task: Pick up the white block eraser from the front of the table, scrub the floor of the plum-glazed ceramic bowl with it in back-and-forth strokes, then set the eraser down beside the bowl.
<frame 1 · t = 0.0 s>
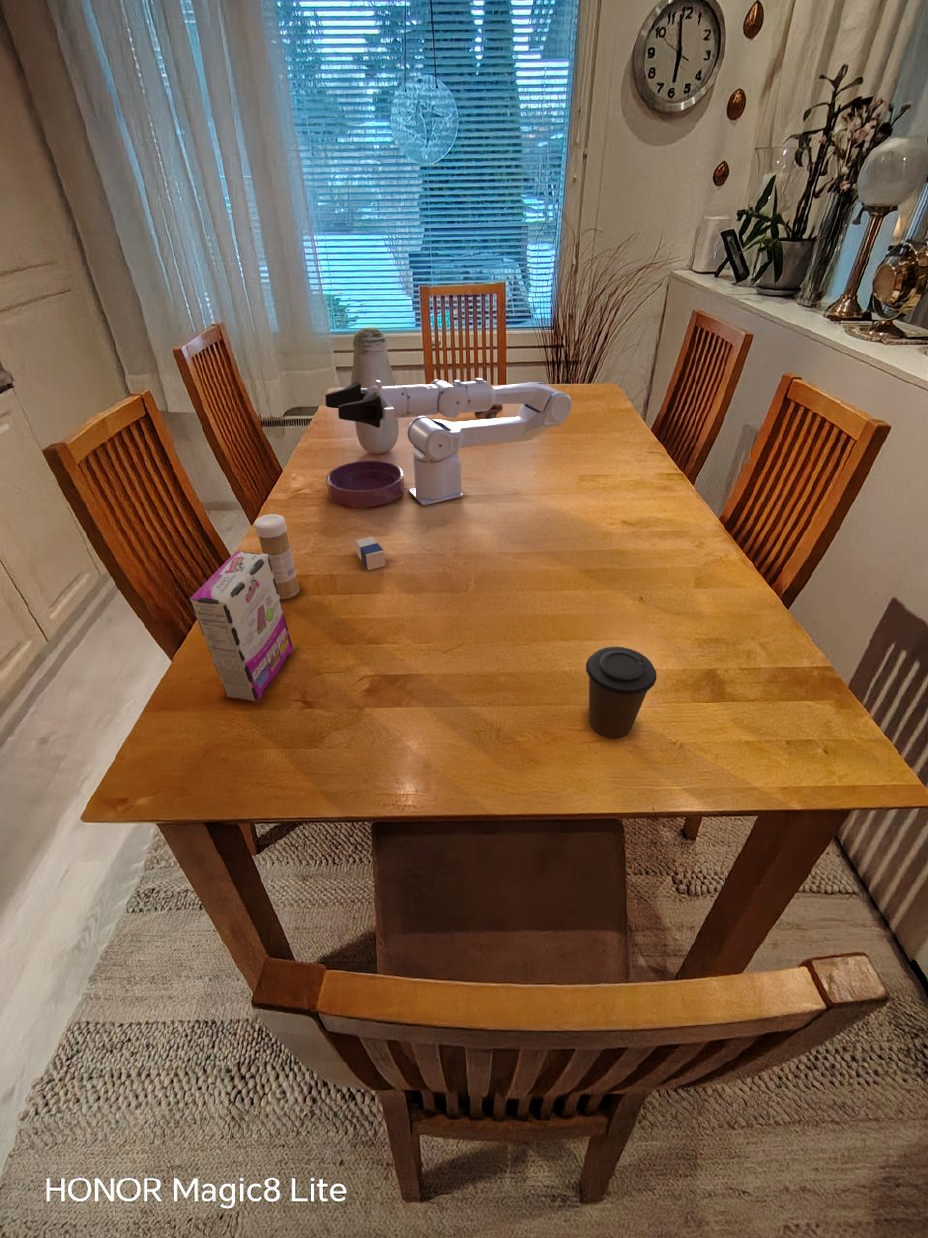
hand: (332, 406, 106), 22 cm above the table, tool horizontal, fingers open, 7 cm apart
mushroom: (488, 420, 164), on the table
coffee cup: (609, 723, 74), on the table
eraser: (371, 560, 105), on the table
bowl: (367, 492, 128), on the table
candy bar box: (261, 674, 82), on the table
sprinkles bottle: (286, 593, 98), on the table
white tall rounded piece: (379, 452, 147), on the table
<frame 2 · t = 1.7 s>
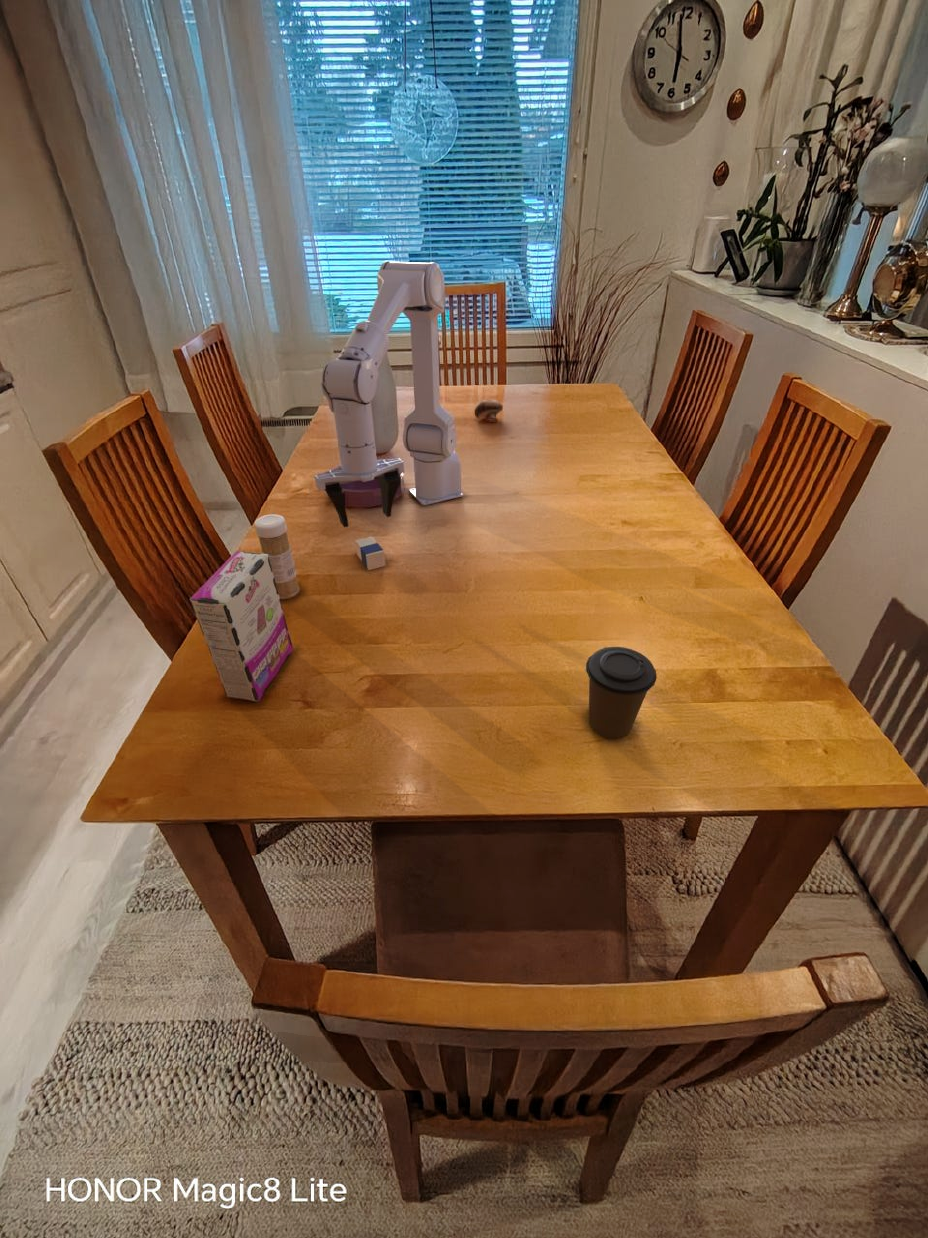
hand: (366, 519, 100), 8 cm above the table, tool pointing down, fingers open, 7 cm apart
nothing on the table moved.
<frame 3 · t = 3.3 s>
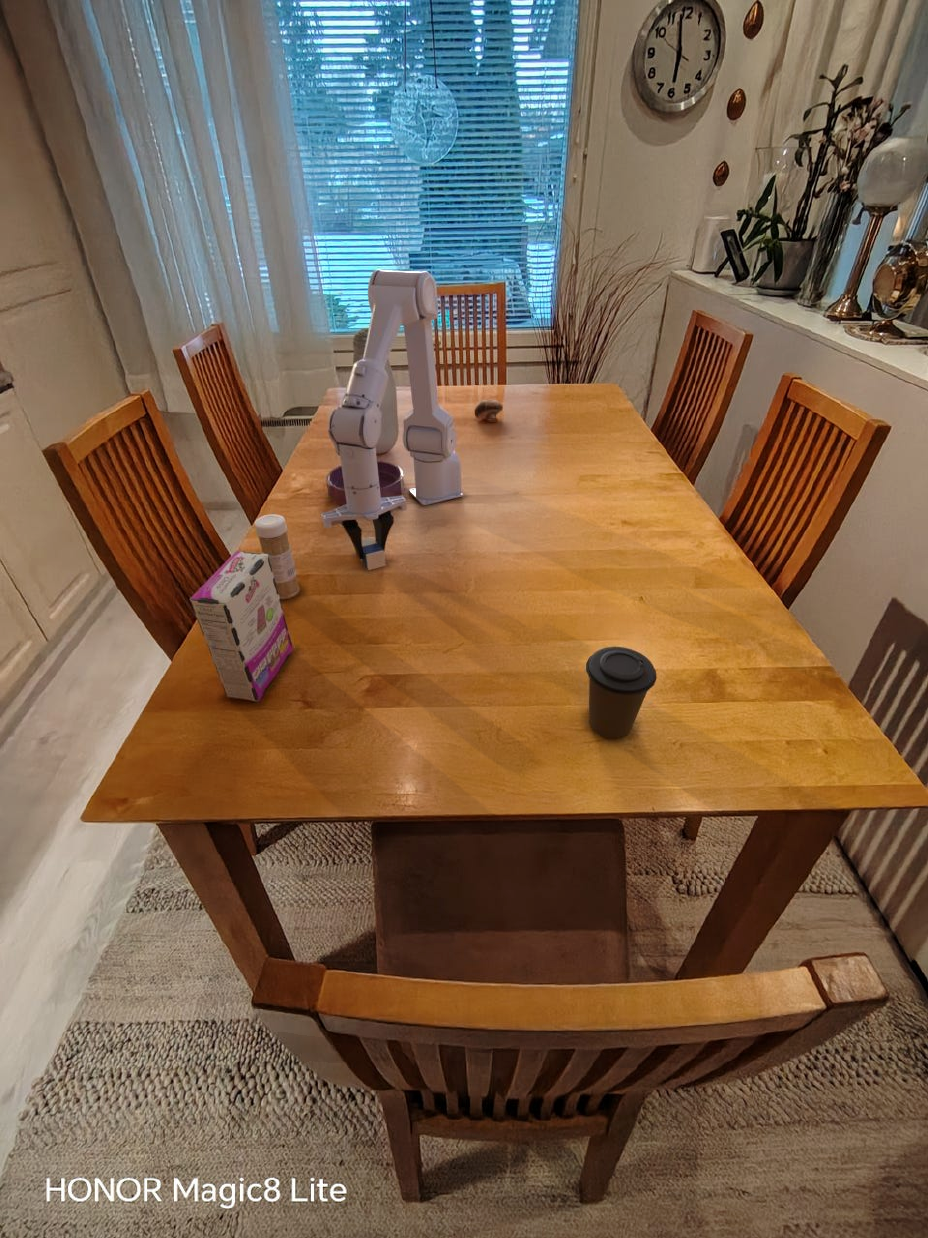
hand: (370, 553, 104), 1 cm above the table, tool pointing down, fingers closed on eraser, 3 cm apart
eraser: (371, 560, 105), on the table, touching gripper
everything else where it was.
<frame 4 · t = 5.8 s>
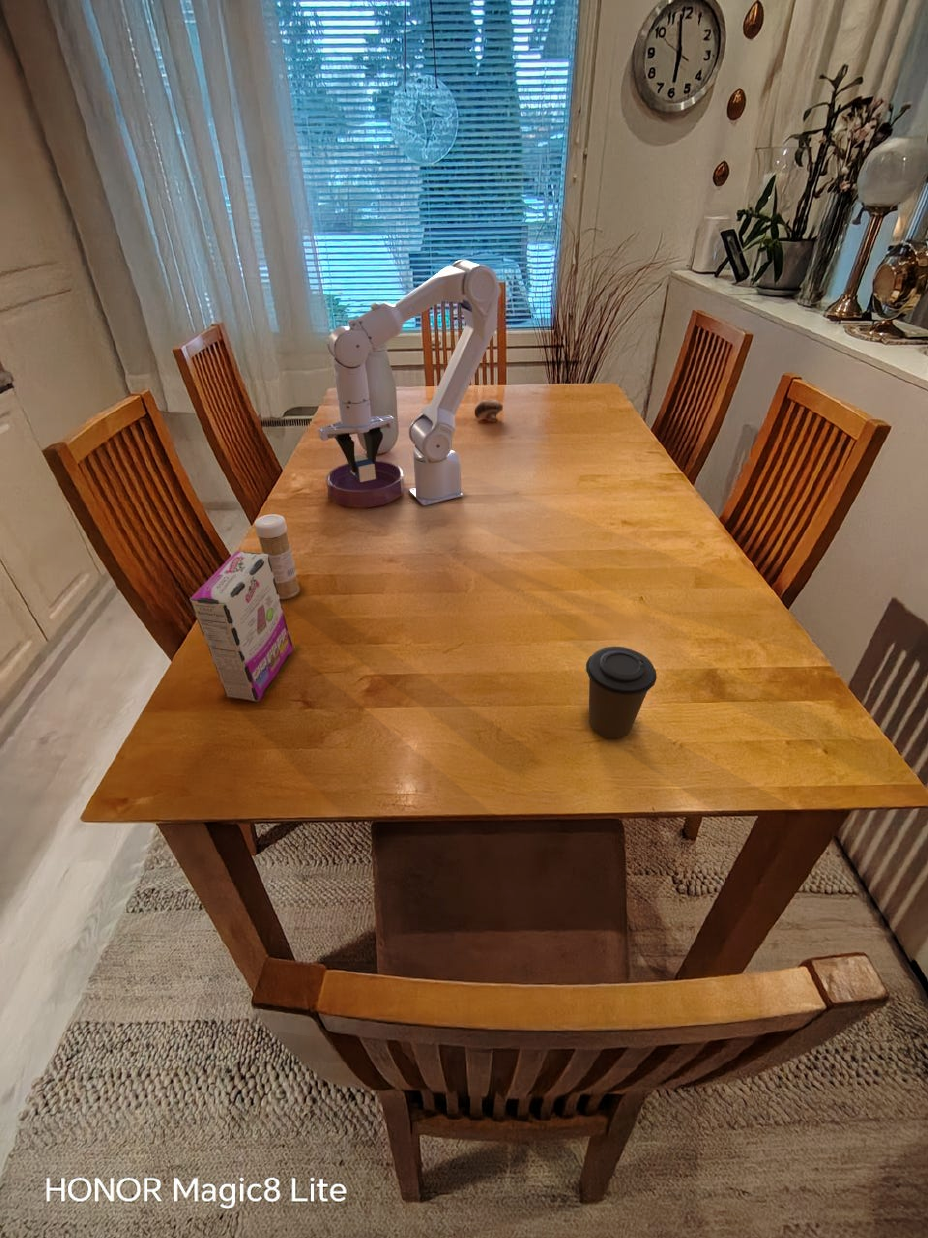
hand: (362, 468, 117), 8 cm above the table, tool pointing down, fingers closed on eraser, 3 cm apart
eraser: (363, 475, 118), point 7 cm above the table, touching gripper
everything else where it was.
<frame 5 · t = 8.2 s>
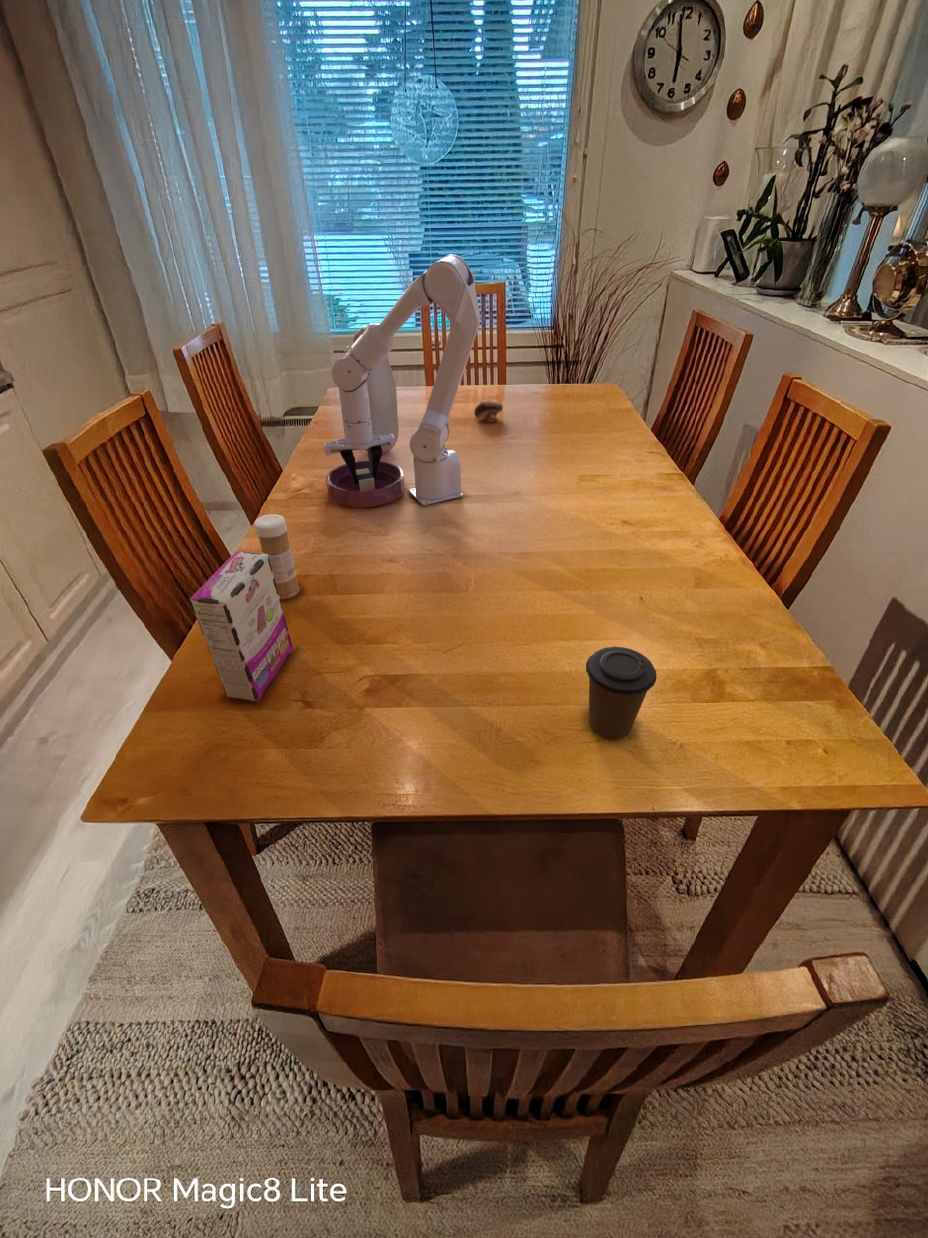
hand: (364, 481, 127), 2 cm above the table, tool pointing down, fingers closed on eraser, 3 cm apart
eraser: (365, 487, 128), point 1 cm above the table, touching gripper
everything else where it was.
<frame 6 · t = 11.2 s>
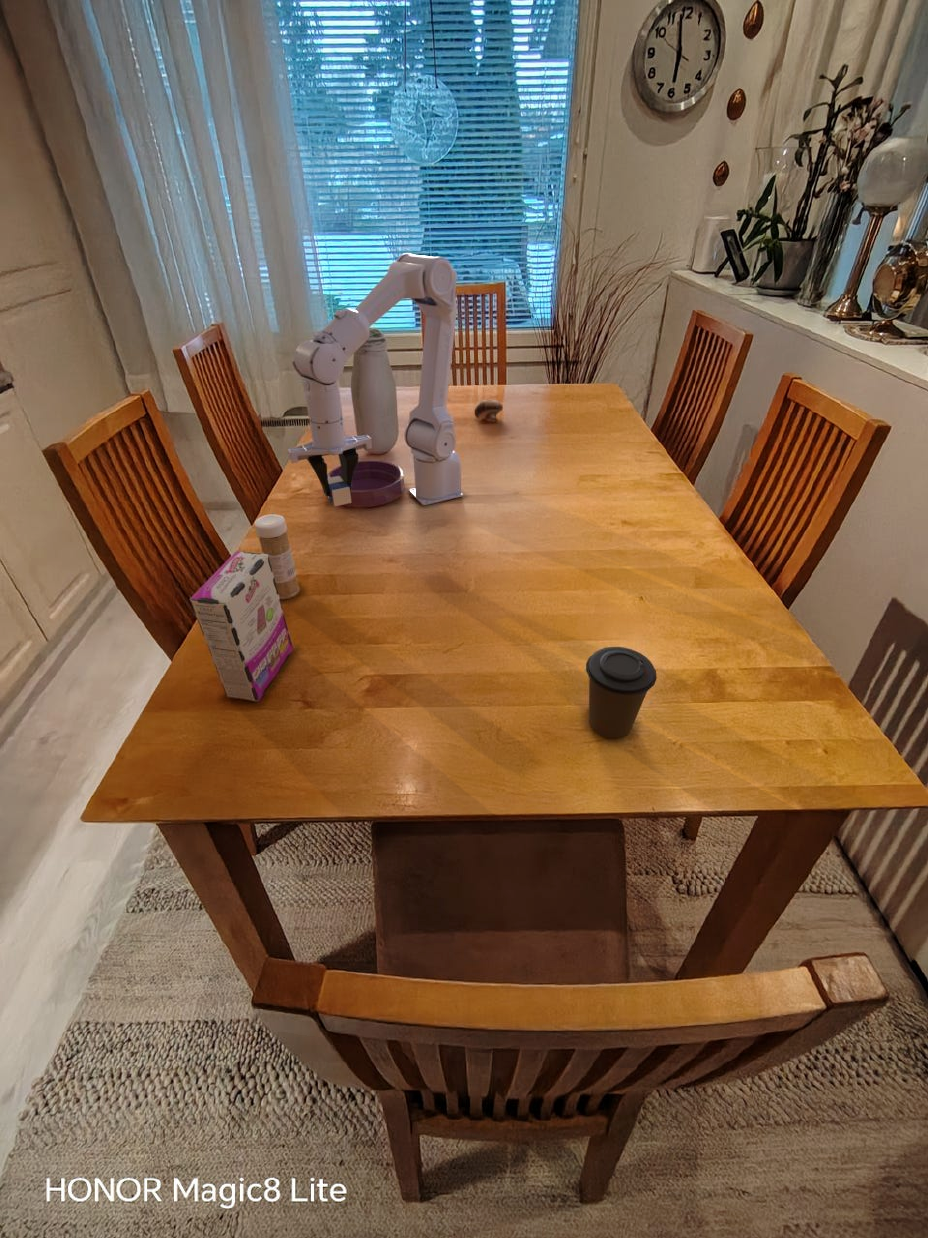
hand: (337, 491, 109), 8 cm above the table, tool pointing down, fingers closed on eraser, 3 cm apart
eraser: (338, 498, 110), point 7 cm above the table, touching gripper
everything else where it was.
when the fingers open (1 cm above the table, at t = 13.4 s): eraser stays where it is, on the table.
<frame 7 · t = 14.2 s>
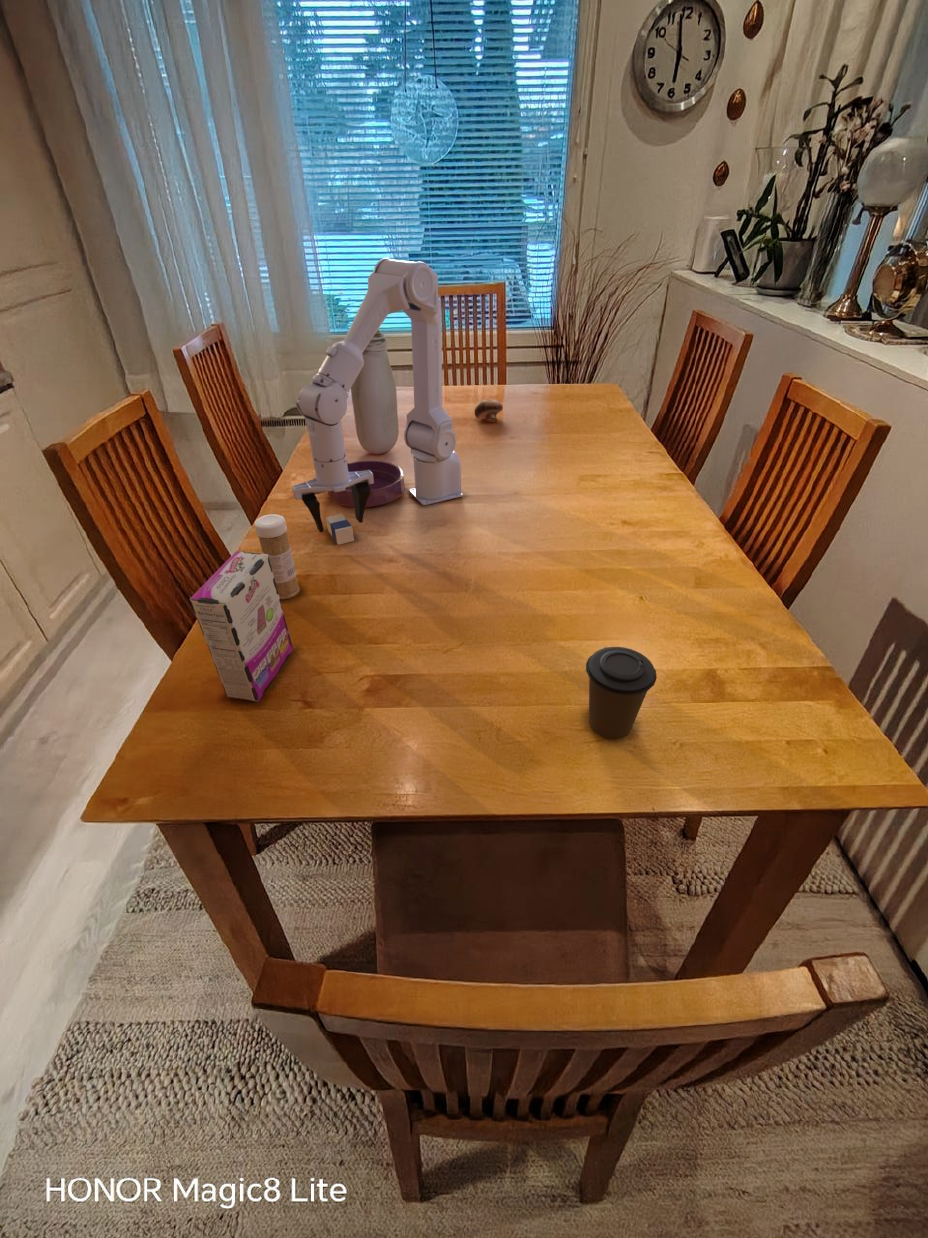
hand: (340, 525, 111), 2 cm above the table, tool pointing down, fingers open, 7 cm apart
eraser: (341, 536, 112), on the table
everything else where it was.
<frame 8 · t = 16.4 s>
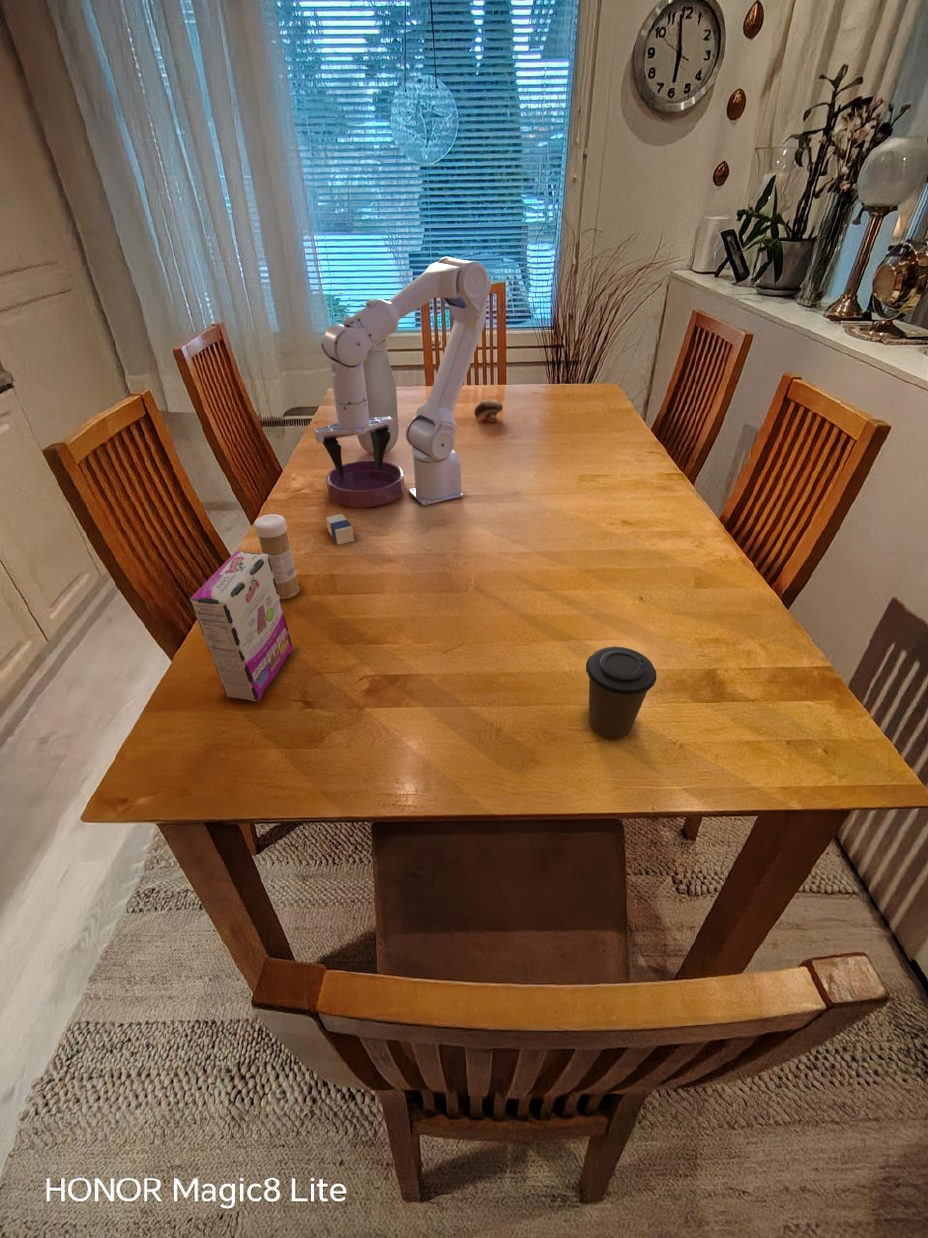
hand: (359, 471, 114), 9 cm above the table, tool pointing down, fingers open, 7 cm apart
nothing on the table moved.
at the end: eraser 0.1 cm from the target spot on the table beside the bowl, on the table; the gripper is holding nothing; eraser tilted 0° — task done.
